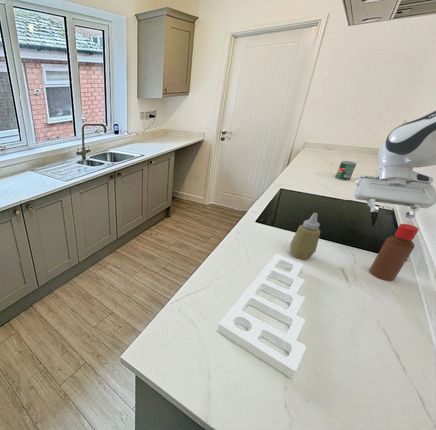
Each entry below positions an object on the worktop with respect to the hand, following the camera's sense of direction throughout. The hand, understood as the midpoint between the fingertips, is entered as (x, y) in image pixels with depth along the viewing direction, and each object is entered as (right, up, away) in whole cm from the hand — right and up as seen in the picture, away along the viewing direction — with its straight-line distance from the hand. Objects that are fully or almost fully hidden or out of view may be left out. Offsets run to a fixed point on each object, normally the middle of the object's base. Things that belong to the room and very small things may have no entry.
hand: (392, 214), depth 90 cm
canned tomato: (+60, +25, +88) cm, 109 cm away
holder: (-45, -27, -11) cm, 54 cm away
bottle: (-5, -21, -1) cm, 22 cm away
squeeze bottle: (-24, -16, +11) cm, 31 cm away
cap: (-5, -7, -8) cm, 12 cm away
